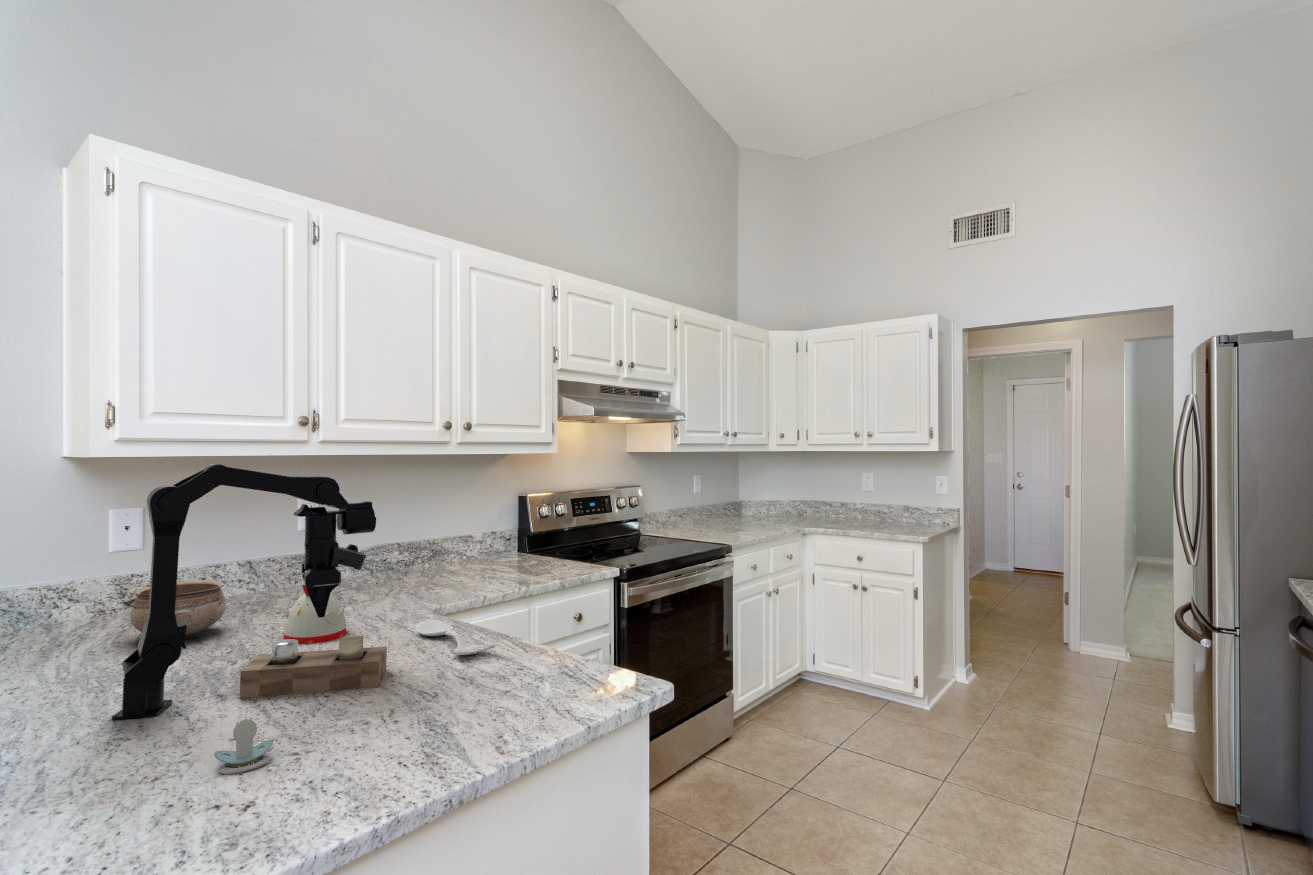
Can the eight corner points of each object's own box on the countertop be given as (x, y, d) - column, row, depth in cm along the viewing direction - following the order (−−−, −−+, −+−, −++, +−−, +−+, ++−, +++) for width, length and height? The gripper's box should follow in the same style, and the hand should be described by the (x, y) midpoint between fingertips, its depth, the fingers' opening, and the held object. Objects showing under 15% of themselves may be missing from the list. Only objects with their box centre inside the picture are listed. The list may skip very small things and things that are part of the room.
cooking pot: (130, 631, 159) (132, 583, 159) (220, 620, 171) (222, 575, 171) (127, 657, 140) (129, 602, 140) (229, 642, 151) (231, 591, 152)
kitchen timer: (269, 641, 153) (271, 579, 153) (313, 626, 166) (314, 569, 166) (317, 646, 149) (319, 583, 150) (358, 630, 163) (359, 572, 163)
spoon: (458, 665, 137) (458, 649, 138) (409, 632, 162) (409, 619, 162) (496, 657, 143) (497, 642, 143) (443, 626, 168) (444, 613, 168)
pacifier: (274, 768, 92) (271, 750, 97) (275, 725, 92) (273, 710, 97) (213, 782, 88) (214, 763, 93) (214, 737, 88) (215, 721, 93)
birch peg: (360, 664, 125) (361, 640, 126) (336, 666, 124) (337, 642, 124) (364, 657, 130) (365, 634, 130) (341, 659, 129) (341, 636, 129)
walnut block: (378, 687, 124) (378, 661, 124) (239, 697, 117) (240, 671, 118) (386, 670, 133) (386, 646, 133) (258, 679, 127) (259, 654, 127)
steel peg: (293, 669, 122) (294, 644, 122) (268, 670, 121) (268, 646, 121) (300, 661, 127) (300, 638, 127) (275, 663, 125) (276, 639, 126)
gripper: (368, 539, 127) (368, 616, 127) (357, 529, 143) (357, 598, 142) (305, 543, 121) (305, 624, 121) (301, 532, 137) (300, 604, 137)
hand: (319, 612), depth 130 cm, fingers open, 9 cm apart
